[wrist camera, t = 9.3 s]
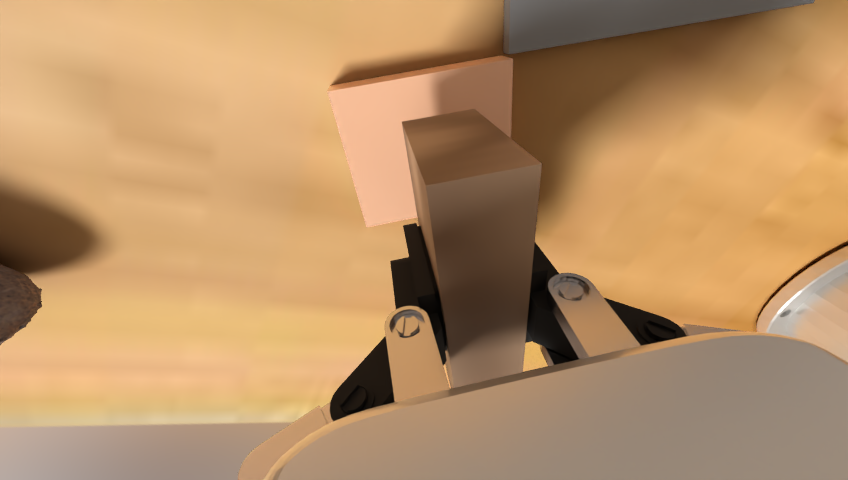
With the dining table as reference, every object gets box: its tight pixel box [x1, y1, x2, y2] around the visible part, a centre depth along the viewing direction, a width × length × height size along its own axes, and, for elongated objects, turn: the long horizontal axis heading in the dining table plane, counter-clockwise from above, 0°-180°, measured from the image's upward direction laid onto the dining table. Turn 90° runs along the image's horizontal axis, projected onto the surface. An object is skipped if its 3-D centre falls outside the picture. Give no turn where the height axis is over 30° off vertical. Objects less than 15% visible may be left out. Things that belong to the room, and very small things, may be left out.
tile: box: [327, 55, 513, 227], centre depth 14 cm, size 7×2×6 cm
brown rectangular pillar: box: [402, 109, 542, 388], centre depth 12 cm, size 2×10×5 cm, turn 7°
